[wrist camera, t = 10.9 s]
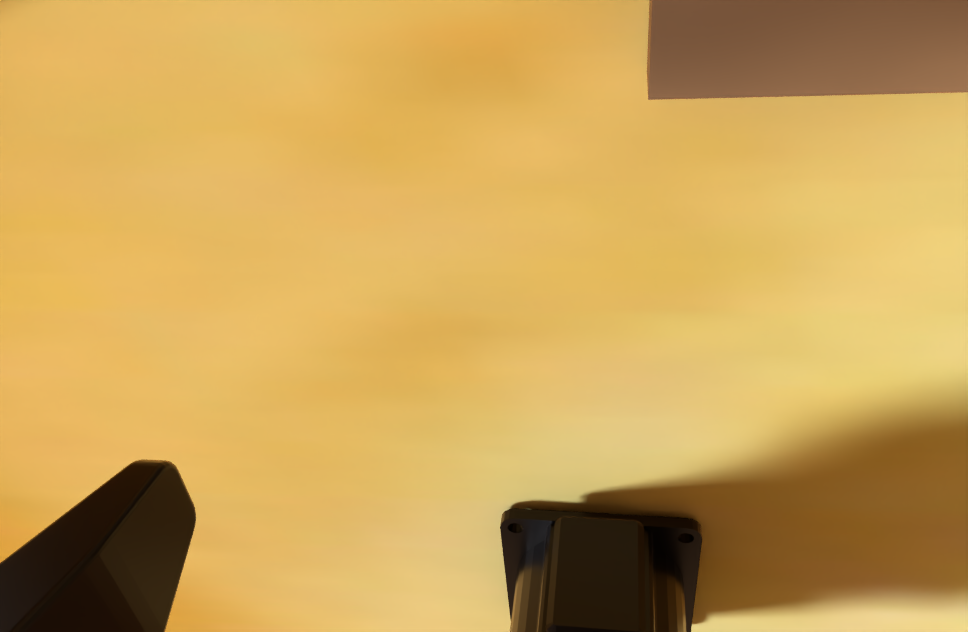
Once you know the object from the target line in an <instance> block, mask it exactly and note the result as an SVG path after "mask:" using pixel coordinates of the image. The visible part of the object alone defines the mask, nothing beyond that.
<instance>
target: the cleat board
mask: <svg viewBox="0 0 968 632" xmlns="http://www.w3.org/2000/svg"><path fill="white" fill-rule="evenodd" d="M647 81H648V100H652V99H695V98H738V97H781V96H824V95H867V94H910V93H953V92H968V0H650V6H649V33H648V60H647Z"/></svg>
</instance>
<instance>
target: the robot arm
mask: <svg viewBox="0 0 968 632" xmlns="http://www.w3.org/2000/svg"><path fill="white" fill-rule="evenodd" d="M195 521H196V513H195V507H194V504H193V502H192V500H191V497H190V495H189V493H188V491H187V489H186V486H185V484H184V482H183V480H182V478H181V476H180V473H179V471H178V469H177V467H176V466H175V465H174V464H173V463H171V462H169V461H162V460H138V461H135V462H133V463H131V464H129V465H128V466H127V467H125V468H124V469H123V470H121V471H120V472H119V473H117V474H116V475H115V476H114V477H112V478H111V479H110V480H108V481H107V482H106V483H104V484H103V485H102V486H100V487H99V488H98V489H96V490H95V491H94V492H93V493H91V494H90V495H89V496H87V497H86V498H85V499H83V500H82V501H81V502H79V503H78V504H77V505H76V506H74V507H73V508H72V509H70V510H69V511H68V512H66V513H65V514H64V515H62V516H61V517H60V518H59V519H57V520H56V521H55V522H53V523H52V524H51V525H49V526H48V527H47V528H45V529H44V530H43V531H41V532H40V533H39V534H38V535H36V536H35V537H34V538H32V539H31V540H30V541H28V542H27V543H26V544H24V545H23V546H22V547H21V548H19V549H18V550H17V551H15V552H14V553H13V554H11V555H10V556H9V557H7V558H6V559H5V560H4V561H2V562H1V563H0V632H165V629H166V625H167V622H168V618H169V615H170V612H171V608H172V605H173V601H174V598H175V594H176V591H177V587H178V584H179V580H180V577H181V573H182V570H183V566H184V563H185V559H186V556H187V552H188V549H189V545H190V542H191V538H192V535H193V531H194V527H195ZM500 529H501V538H502V547H503V556H504V565H505V573H506V582H507V591H508V600H509V609H510V618H511V627H510V632H691V625H692V617H693V609H694V601H695V593H696V584H697V576H698V568H699V560H700V552H701V543H702V533H701V526H700V524H699V523H698V522H697V521H695V520H693V519H688V518H674V517H656V516H637V515H619V514H601V513H583V512H564V511H546V510H528V509H509V510H507V511H505V512H504V513H503V514H502V519H501V526H500Z"/></svg>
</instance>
